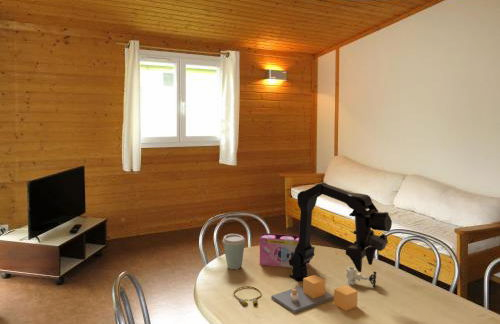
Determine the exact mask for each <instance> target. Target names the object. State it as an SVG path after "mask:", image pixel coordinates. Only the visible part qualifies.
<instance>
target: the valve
mask: <svg viewBox="0 0 500 324" xmlns="http://www.w3.org/2000/svg"><path fill="white" fill-rule="evenodd" d="M346 272H347V273H346V283H347V284H348V285H350V286H354V285H356V284H357V282H358V281H361V280H363V281H367V280H368V281H369V282H370V284H371V285H372V287H373V288H376V287H377V285H376V284H377V271H373V273H372V274H370V276H367V275H362V273H361V272H358V273H357V269H356V267H355V266H354V267H352V266H349V267H347V268H346Z"/></svg>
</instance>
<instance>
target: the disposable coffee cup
mask: <svg viewBox="0 0 500 324" xmlns="http://www.w3.org/2000/svg"><path fill="white" fill-rule="evenodd" d="M222 243H223V248H224V255H225V259H226V265H227V267H228V269H229V268H230V269H229V270H232V269H236V270H239V268H240V267H241V268H242V265H243V260H244V259H243V258H244V252H245V244H246V239H245V237H244V236H243V235H241V234H238V233H229V234H226V235H224V236H223V239H222ZM241 268H240V269H241Z"/></svg>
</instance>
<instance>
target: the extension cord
mask: <svg viewBox="0 0 500 324" xmlns="http://www.w3.org/2000/svg"><path fill="white" fill-rule="evenodd" d="M244 287H247V288H246V289H252V288H254V289H253V290H256V289H257V290H256V291H258V293H259V294H260V295H259V296H256V297H254V298H252V299H250V301H252V304H253V306H254V305H255V306H256V305H257V306H258V300H259V299H260V297H262V292H261V290H260V289H258V288H257V287H255V286H249V285H248V286H247V285H243V286H241V287H237V288H236V289H235V290H233V293H232V295H233V294H234V296H235V297H237V298H238V301H239V303H240V304H241V305H242V306H243V305H245V306H248V305H249V304H248V302H247V300H246V299H245V300H243V298H239V296H237V295H236V292H237V290H238V289H240V288H243V289H244ZM240 290H241V289H240ZM235 291H236V292H235ZM238 291H239V290H238ZM234 292H235V293H234ZM234 296H233V297H234ZM235 297H234V298H235ZM237 298H236V299H237ZM247 304H248V305H247Z"/></svg>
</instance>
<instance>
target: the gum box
mask: <svg viewBox="0 0 500 324" xmlns="http://www.w3.org/2000/svg"><path fill="white" fill-rule="evenodd" d="M258 238H259V265H260V264H262V266H271V267H272V266H273V267H282V268H292V266H290V264H289V260H290V259H291V258H292V257H293V256H294V252H295V248H296V246H297V244H298V242H299V234H298V235H297V234H282V233H280V234H279V233H268V232H263V233H262V234H260V236H259V237H258ZM310 244H311V245H312V242H310ZM306 265H307V266H309V263H307V264H306Z"/></svg>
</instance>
